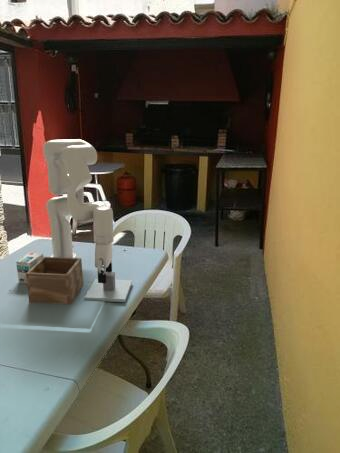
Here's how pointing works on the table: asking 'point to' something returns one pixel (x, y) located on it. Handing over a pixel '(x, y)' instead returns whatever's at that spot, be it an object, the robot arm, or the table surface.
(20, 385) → the table surface
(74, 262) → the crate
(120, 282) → the lid
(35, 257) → the light bulb box
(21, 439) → the table surface
